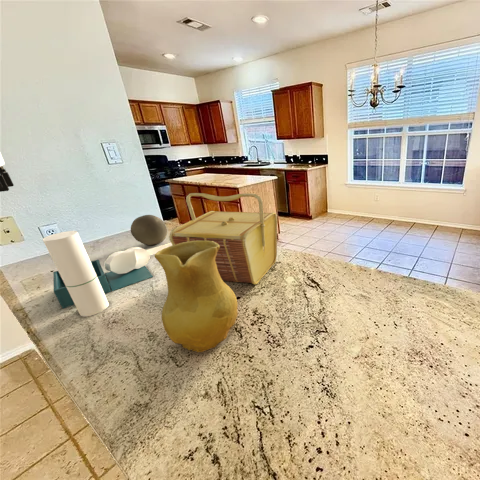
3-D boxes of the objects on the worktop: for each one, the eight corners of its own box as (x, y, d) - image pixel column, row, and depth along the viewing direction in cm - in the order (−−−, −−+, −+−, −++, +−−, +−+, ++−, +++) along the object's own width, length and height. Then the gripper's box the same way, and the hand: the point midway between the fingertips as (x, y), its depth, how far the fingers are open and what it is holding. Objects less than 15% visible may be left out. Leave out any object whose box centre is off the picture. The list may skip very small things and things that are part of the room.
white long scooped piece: (199, 247, 129) (193, 246, 130) (197, 232, 126) (191, 231, 128) (113, 278, 96) (107, 276, 97) (108, 257, 93) (102, 255, 95)
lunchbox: (63, 310, 82) (53, 291, 80) (62, 288, 94) (53, 271, 92) (153, 278, 98) (147, 261, 96) (142, 263, 110) (137, 248, 107)
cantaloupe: (144, 241, 134) (135, 212, 128) (174, 238, 136) (166, 210, 130) (131, 252, 121) (120, 222, 115) (164, 249, 123) (155, 218, 118)
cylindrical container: (106, 300, 86) (74, 229, 76) (112, 308, 82) (80, 233, 72) (78, 311, 81) (40, 237, 71) (83, 321, 77) (44, 242, 67)
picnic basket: (180, 286, 92) (155, 202, 80) (222, 254, 115) (207, 185, 103) (256, 294, 85) (241, 204, 73) (284, 258, 108) (276, 185, 96)
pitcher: (152, 360, 61) (124, 263, 53) (198, 312, 79) (182, 233, 70) (221, 367, 59) (203, 267, 50) (252, 317, 76) (243, 235, 68)
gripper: (-45, 122, 69) (-12, 187, 76) (-67, 119, 57) (-25, 196, 64) (-3, 122, 74) (25, 183, 81) (-15, 119, 62) (19, 191, 69)
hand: (3, 189), depth 72 cm, fingers open, 9 cm apart
